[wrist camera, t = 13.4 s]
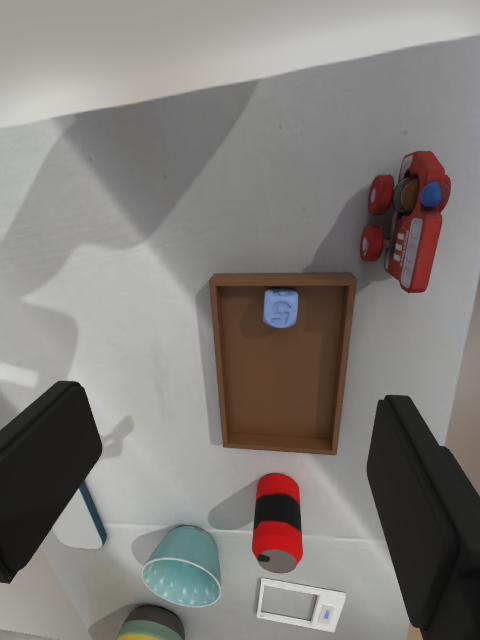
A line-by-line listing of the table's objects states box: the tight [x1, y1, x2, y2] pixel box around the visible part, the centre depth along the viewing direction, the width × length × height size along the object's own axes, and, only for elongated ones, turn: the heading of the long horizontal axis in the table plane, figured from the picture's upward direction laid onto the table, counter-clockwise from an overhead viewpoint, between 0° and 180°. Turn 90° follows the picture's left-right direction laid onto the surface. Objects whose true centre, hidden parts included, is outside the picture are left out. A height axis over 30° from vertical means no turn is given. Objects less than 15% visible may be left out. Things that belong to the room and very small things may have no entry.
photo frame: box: [257, 578, 346, 632], centre depth 67 cm, size 15×1×18 cm
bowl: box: [141, 526, 222, 607], centre depth 60 cm, size 16×16×8 cm
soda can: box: [252, 473, 303, 573], centre depth 49 cm, size 8×8×12 cm
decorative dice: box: [263, 288, 298, 328], centre depth 37 cm, size 4×4×4 cm
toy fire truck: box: [360, 151, 451, 293], centre depth 30 cm, size 7×12×10 cm, turn 0°
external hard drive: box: [52, 481, 106, 550], centre depth 63 cm, size 24×12×2 cm, turn 6°
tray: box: [209, 273, 357, 455], centre depth 42 cm, size 28×18×3 cm, turn 2°
